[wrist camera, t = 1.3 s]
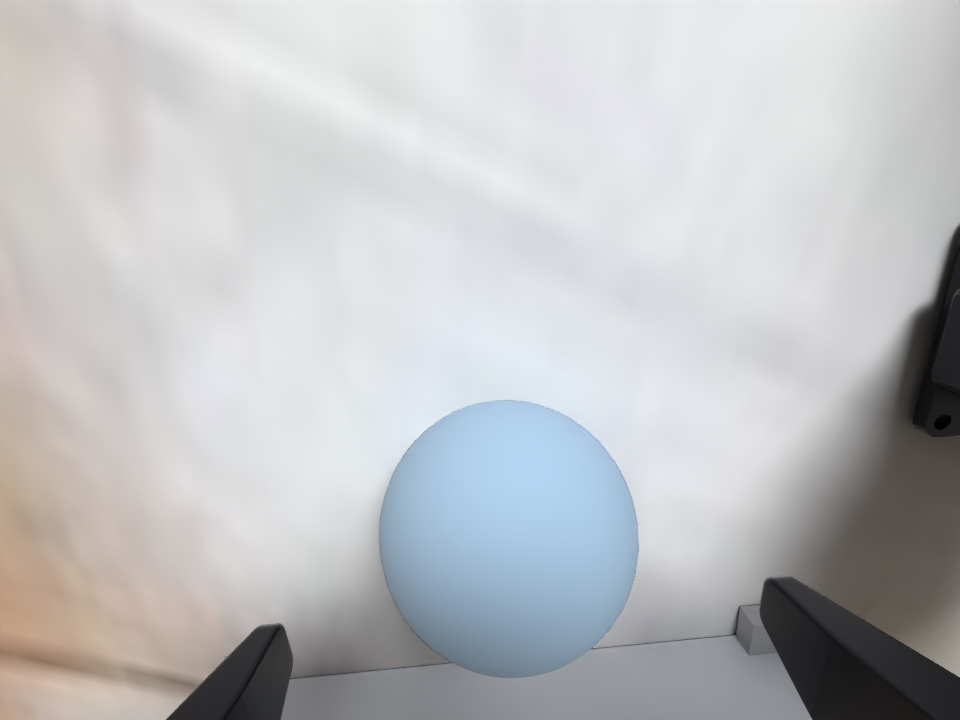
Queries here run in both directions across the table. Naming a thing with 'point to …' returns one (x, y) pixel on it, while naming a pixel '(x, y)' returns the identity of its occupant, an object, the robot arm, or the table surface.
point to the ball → (508, 539)
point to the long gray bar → (576, 686)
